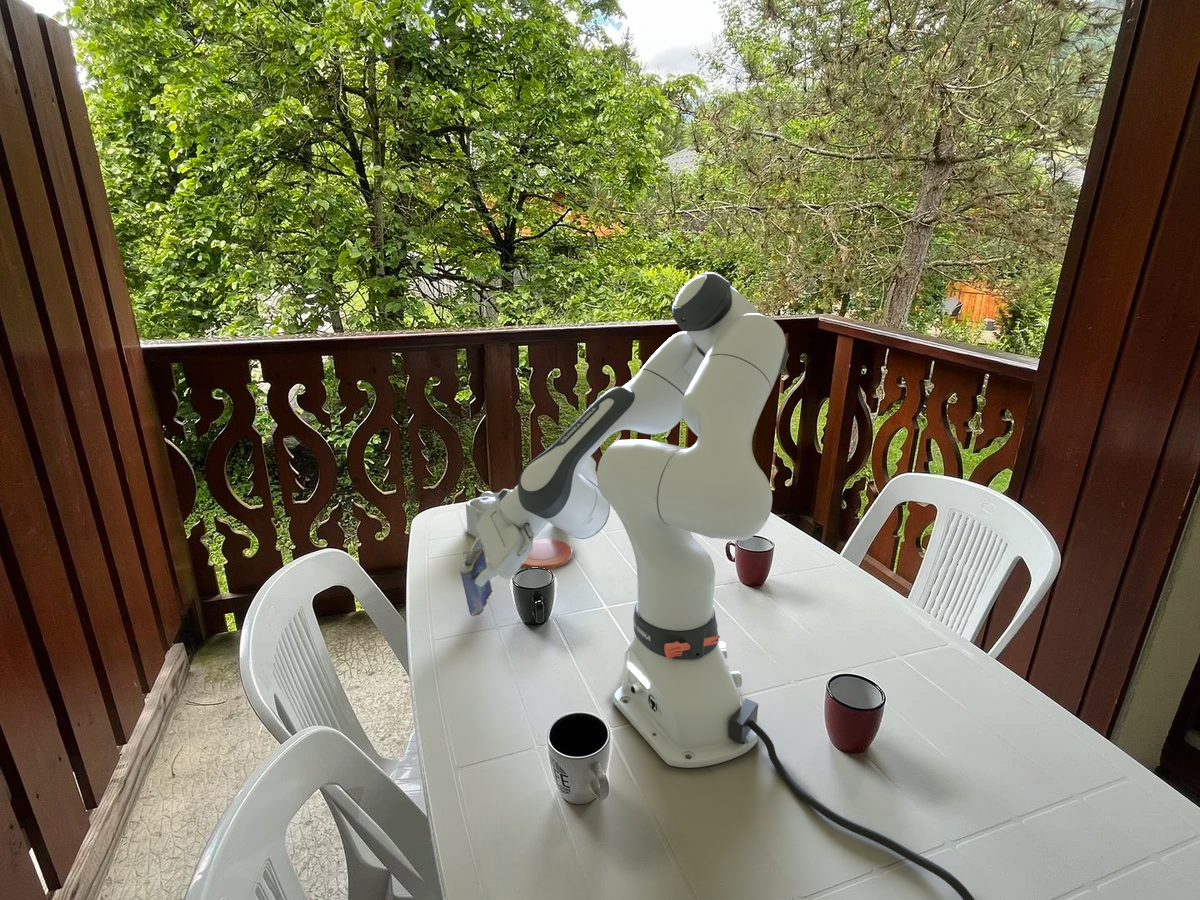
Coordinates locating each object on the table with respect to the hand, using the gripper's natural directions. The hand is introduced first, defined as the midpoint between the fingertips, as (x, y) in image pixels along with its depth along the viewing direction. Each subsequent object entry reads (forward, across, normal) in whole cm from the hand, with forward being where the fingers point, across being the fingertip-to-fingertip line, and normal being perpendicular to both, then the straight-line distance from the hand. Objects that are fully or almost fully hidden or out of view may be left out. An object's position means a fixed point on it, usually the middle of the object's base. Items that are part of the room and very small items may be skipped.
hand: (472, 570), depth 116 cm
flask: (+4, 0, -6) cm, 7 cm away
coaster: (-6, +18, -18) cm, 27 cm away
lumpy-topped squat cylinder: (-1, +35, -14) cm, 38 cm away
